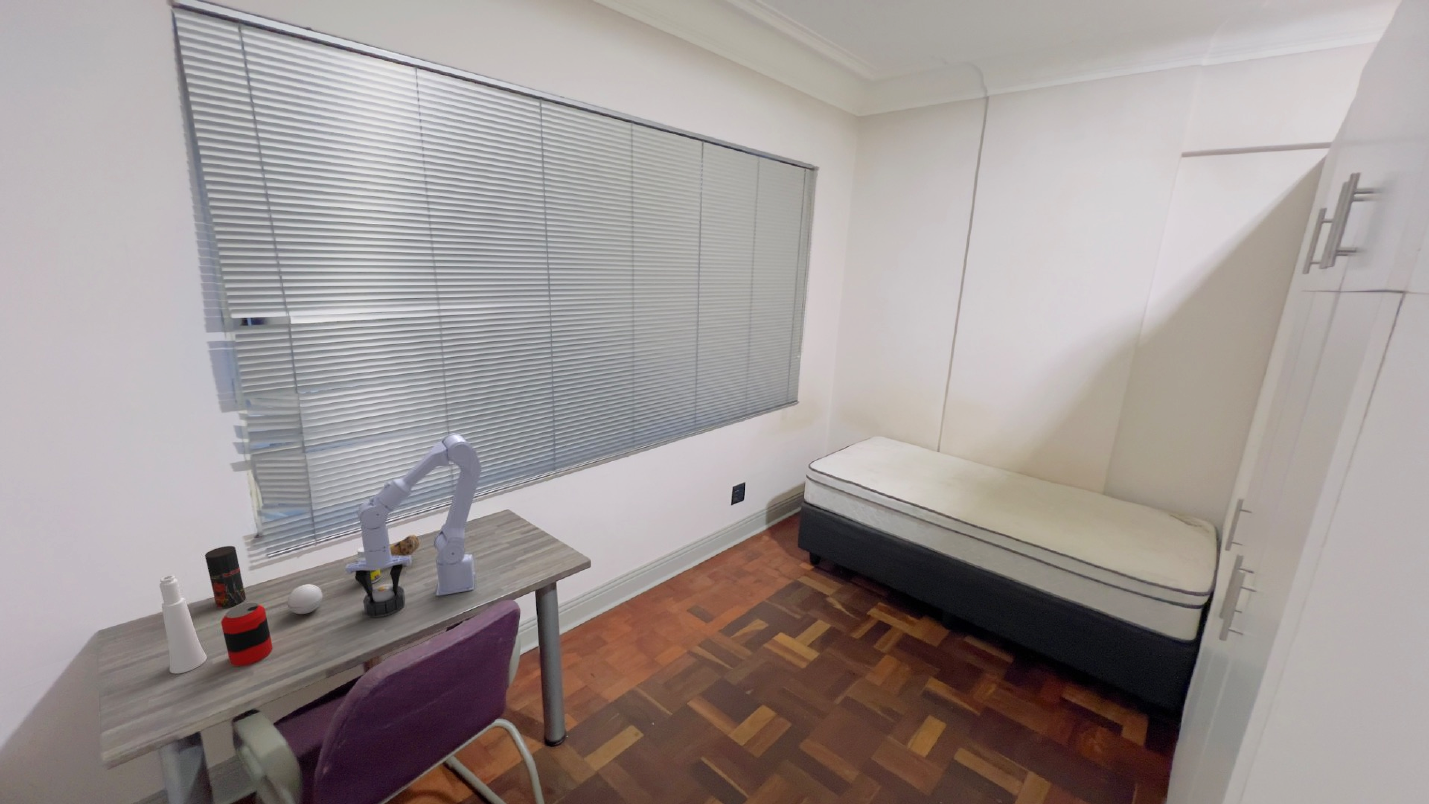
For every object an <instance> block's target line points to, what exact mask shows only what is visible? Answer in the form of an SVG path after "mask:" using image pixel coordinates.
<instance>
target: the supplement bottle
mask: <svg viewBox="0 0 1429 804" xmlns="http://www.w3.org/2000/svg"><path fill="white" fill-rule="evenodd" d="M356 551H357V554H356V556H355V557H354V563H356V562H360V561H364V560H365V554H364V548H363V545H362V546H360V547H358V548H357V550H356ZM381 577H382V575H381V569H379V570H371V582H372V584H374V583H376V582H377V581H379V580H380V578H381Z"/></svg>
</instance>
